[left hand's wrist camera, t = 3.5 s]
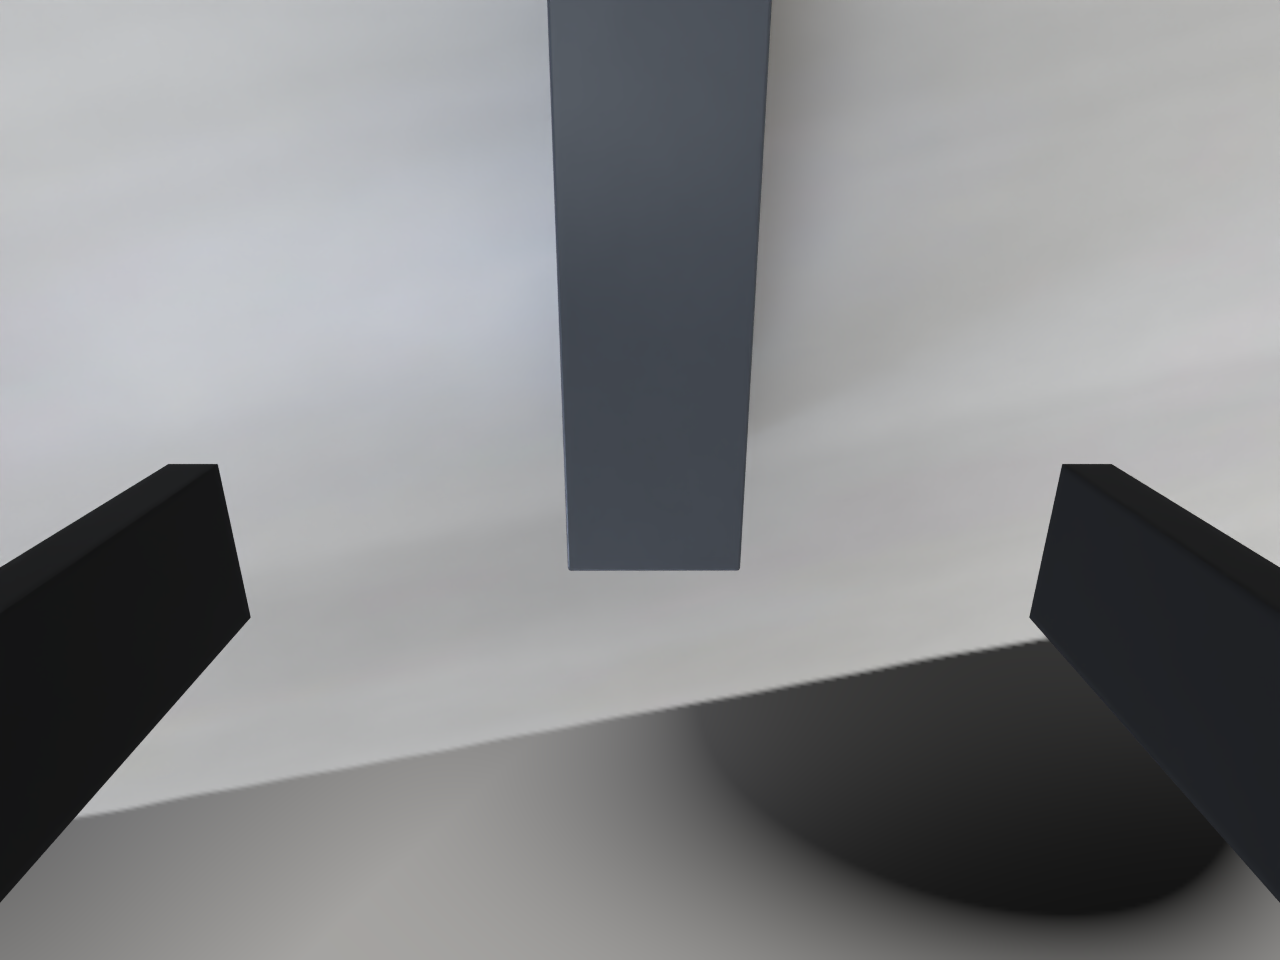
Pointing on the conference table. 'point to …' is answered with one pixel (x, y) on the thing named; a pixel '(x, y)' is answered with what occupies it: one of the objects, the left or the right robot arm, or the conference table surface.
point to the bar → (656, 272)
